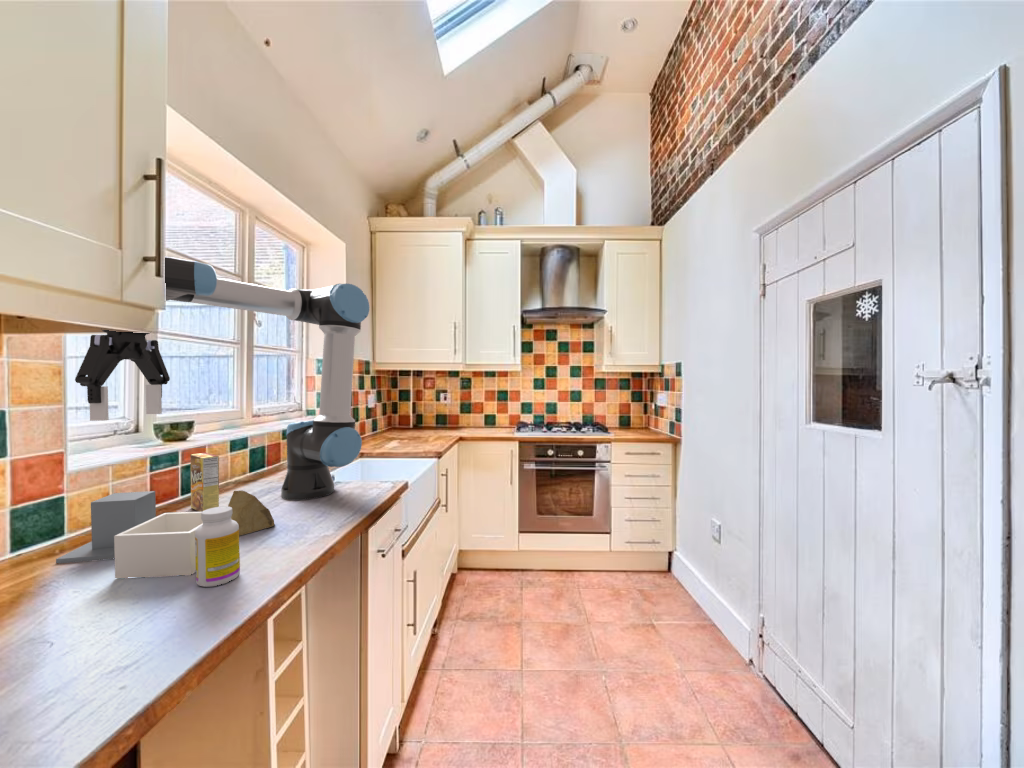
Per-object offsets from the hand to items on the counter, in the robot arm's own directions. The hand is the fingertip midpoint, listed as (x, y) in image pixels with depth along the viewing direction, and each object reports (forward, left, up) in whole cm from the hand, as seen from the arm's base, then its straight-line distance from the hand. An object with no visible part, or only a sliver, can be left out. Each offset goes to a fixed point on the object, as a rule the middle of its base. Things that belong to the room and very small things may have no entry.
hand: (128, 417), depth 88 cm
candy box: (-31, -3, -29) cm, 42 cm away
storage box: (+4, +12, -29) cm, 31 cm away
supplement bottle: (+13, +24, -29) cm, 40 cm away
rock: (-12, +18, -29) cm, 36 cm away
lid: (-6, -5, -29) cm, 30 cm away
